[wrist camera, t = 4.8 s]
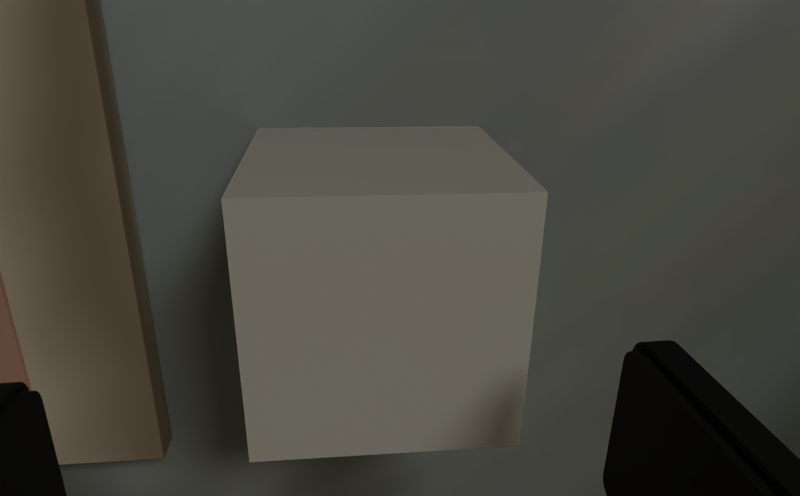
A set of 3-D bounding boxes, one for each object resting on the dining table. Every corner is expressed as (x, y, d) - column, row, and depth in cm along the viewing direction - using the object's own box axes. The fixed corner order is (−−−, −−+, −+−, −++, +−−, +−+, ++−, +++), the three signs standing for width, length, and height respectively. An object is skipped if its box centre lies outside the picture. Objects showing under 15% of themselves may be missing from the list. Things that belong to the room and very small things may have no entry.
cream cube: (478, 125, 17) (547, 192, 11) (466, 315, 19) (519, 445, 14) (258, 127, 16) (221, 198, 11) (273, 323, 19) (249, 462, 13)
